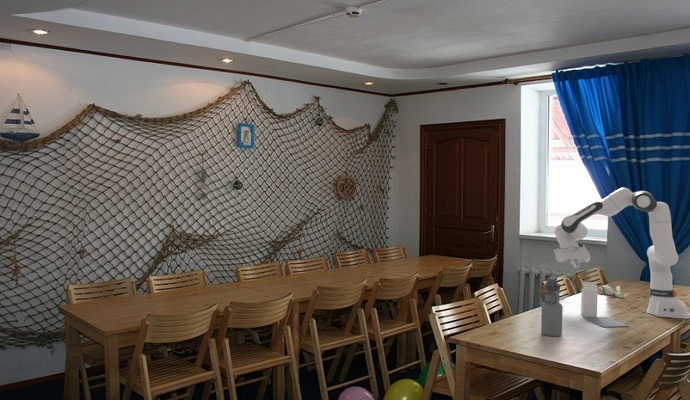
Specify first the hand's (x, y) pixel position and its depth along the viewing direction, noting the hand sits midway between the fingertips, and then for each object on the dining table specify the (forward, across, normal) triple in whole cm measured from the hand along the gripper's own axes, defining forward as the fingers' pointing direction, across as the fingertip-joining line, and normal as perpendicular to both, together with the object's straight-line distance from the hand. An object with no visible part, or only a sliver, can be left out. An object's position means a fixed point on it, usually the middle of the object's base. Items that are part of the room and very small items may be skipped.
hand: (577, 267), depth 349 cm
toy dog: (-9, +47, +46) cm, 66 cm away
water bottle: (+52, -41, -16) cm, 68 cm away
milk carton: (+28, 0, +9) cm, 29 cm away
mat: (+39, 0, -3) cm, 39 cm away
